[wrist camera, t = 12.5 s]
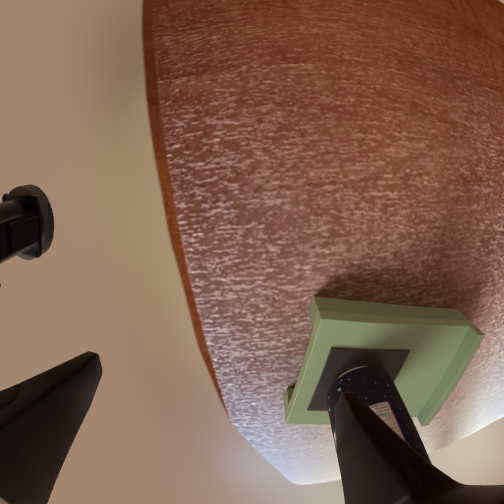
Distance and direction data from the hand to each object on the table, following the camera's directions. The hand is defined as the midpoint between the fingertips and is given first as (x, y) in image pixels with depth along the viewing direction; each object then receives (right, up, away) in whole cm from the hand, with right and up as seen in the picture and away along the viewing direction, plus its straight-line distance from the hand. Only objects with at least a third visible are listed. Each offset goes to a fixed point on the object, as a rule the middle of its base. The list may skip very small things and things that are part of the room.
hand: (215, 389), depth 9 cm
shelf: (+13, -6, +15) cm, 21 cm away
